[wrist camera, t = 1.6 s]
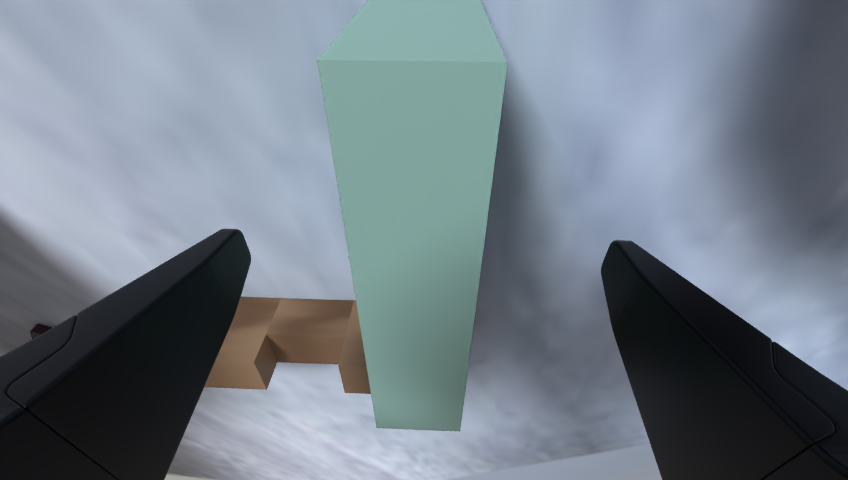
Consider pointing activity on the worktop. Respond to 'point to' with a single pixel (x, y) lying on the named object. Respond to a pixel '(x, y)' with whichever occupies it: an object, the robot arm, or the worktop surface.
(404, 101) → the notched mint block
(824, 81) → the worktop surface
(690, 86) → the worktop surface
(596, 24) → the worktop surface
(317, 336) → the walnut rail
